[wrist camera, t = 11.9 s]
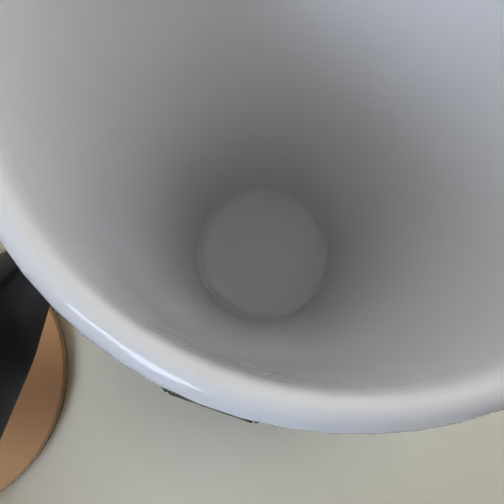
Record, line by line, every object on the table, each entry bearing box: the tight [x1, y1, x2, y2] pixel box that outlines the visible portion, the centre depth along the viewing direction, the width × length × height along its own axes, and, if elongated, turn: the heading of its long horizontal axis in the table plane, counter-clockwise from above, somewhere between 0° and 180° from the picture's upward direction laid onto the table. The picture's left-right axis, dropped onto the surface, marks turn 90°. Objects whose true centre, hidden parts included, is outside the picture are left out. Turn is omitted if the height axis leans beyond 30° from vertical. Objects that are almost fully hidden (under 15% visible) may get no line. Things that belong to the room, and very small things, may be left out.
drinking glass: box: [0, 0, 504, 435], centre depth 11 cm, size 7×7×15 cm
